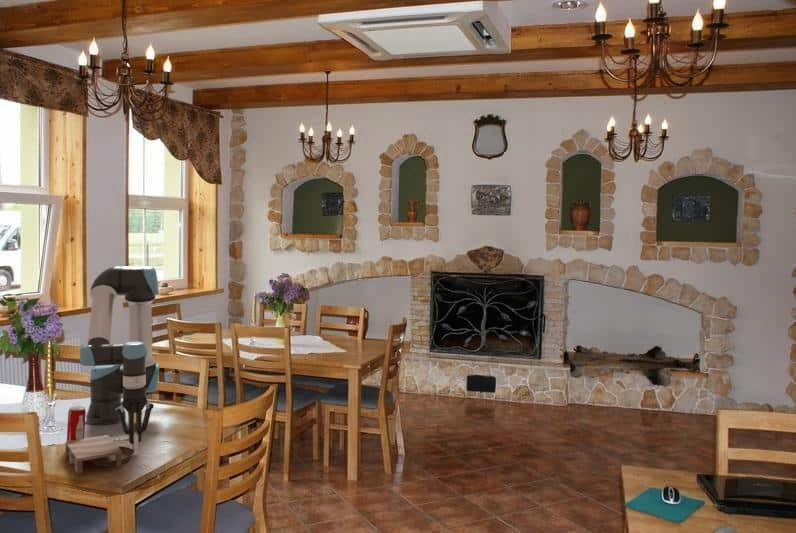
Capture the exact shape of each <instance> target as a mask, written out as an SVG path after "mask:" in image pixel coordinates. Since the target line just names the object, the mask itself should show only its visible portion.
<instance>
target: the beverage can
mask: <svg viewBox="0 0 796 533" xmlns="http://www.w3.org/2000/svg"><path fill="white" fill-rule="evenodd" d="M67 414H68V415H67V429H66V431H67V432H66V441H72V440H79V439H85V433H86V432H85V430H86V429H85V428H86V415H87V412H86V408H85V407H84V406H78V405H77V406H72V407H70V408H69V410H68V412H67Z"/></svg>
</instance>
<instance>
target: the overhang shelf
mask: <svg viewBox="0 0 796 533" xmlns="http://www.w3.org/2000/svg"><path fill="white" fill-rule="evenodd" d="M118 446H119V445H117V443H116V442H115V441H114V440H113V438H111V436H110V435H109V434H105V435H98V436H91V437H87V438H85V437H84V439H79V440H72V441H67V440H66V441H65V460H68V462H69V463H70V464H71V465H72V464H74V471H75V473H76V474H77V477H83V476H84V467H83V466H84V463H83V462H84V461H90V459H96V458H101V457H107V456H113V455H116V465H115V468H116V470H122V464H121V454H122V450H121V449H120V448H119V447H118Z"/></svg>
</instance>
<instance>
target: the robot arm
mask: <svg viewBox="0 0 796 533" xmlns="http://www.w3.org/2000/svg"><path fill="white" fill-rule="evenodd" d="M157 275H158V274H157V271H156V269H155V267H154V266H144V265H140V266H139V265H136V266H131V265H129V266H127V265H126V266H110V267H108V268H107V269H104V270H103V271H102V272H100V273H99V274H98V276H97V277H96V278H95V279H94V281H93V282H92V285H91V287H90V293H89V295H90V298H91V301H92V302H91V308H90V309H91V310H90V319H89V326H88V336H87V344H84V345H83V344H82V345H81V346H80V348H79V362H80V365H81V366H83V367H92V368H91V369H90V375H89V376H90V378H89V380H90V403H89V406H88V409H87V412H86V415H85V423H87V424H89V425H95V426H98V425H101V426H102V425H105V426H106V425H112V424H117V423H120V425H121V428H122V431H123V433H124V434H125V435H128V442H129V444H130V445H131V449H133V450H134V454H139V444H140V443H141V442H142V435H143V432H144V433H145V432H146V431H147V430H148V426H149V422H150V417H151V412H152V411H153V408H155V404H154V403H152V402H149V401H148V399H147V393H153V392H155V391H156V390H157V387H158V383H159V373H160V364H159V363H157V360H156V359H155V358H154V357H153V348H152V347H153V337H152V336H153V331H152V330H153V327H152V325H153V324H152V322H153V321H152V319H153V318H152V303H153V302H154V301H155V300H156V296H158V295H159V294H160V290H159V281H158V276H157ZM118 296H124V301H126V302H127V303H128V312H129V313H128V316H129V317H128V319H129V321H128V322H129V324H128V325H129V342H125V343H111V339H112V338H111V336H112V325H113V324H112V323H113V313H114V312H113V311H114V309H113V308H114V301H115V300H116V299H117V297H118ZM144 408H145V410H144ZM143 410H144V414H143V413H142V412H143ZM126 414H127V416H126ZM142 414H143V415H144V416H143V420H142ZM127 417H128V418H127ZM126 418H127V419H128V423H127V422H126ZM127 424H128V425H127ZM135 431H136V432H135Z"/></svg>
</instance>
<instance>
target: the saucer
mask: <svg viewBox="0 0 796 533" xmlns="http://www.w3.org/2000/svg"><path fill="white" fill-rule="evenodd" d="M117 446H118V447H119V448H120V449H121V450H122V454H121V465H122V464H124V463H126V462H128V461H129V460H130V459H131V458H132V457H133V455H134V454H135V453H134V450H133V449H132V447H127V446H121V445H120V446H119V445H117ZM89 461H90V462H91V463H93V464H94V465H96V466H99V467H114V466H115V467H116V455H113V456H107V457H101V458H96V459H90V460H89Z"/></svg>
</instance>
